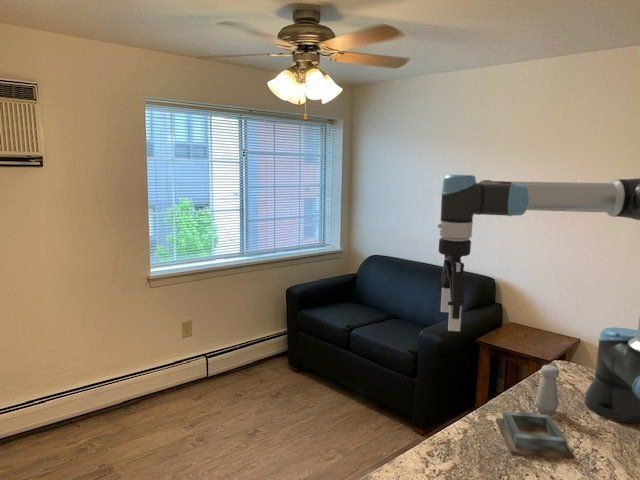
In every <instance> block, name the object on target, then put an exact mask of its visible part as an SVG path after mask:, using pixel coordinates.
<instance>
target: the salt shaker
mask: <svg viewBox="0 0 640 480" xmlns="http://www.w3.org/2000/svg"><path fill="white" fill-rule="evenodd" d="M540 373H541V375H542V378H541V382H540V384H539V388H538V390H537V394H536V396H535V399H534V403H535V406H536V410H537V411H538V412H539V413H540V414H545V415H550V416H552V415H553V414H554V413H555V412H556V411H557V410H558V407H559V405H560V404H559V397H558V386H557V378H558V377H559V374H560V371H559V369H558V368H557V367H556V366H554V365H551V364H544V365H542V367H541V370H540Z"/></svg>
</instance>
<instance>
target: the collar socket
mask: <svg viewBox="0 0 640 480" xmlns="http://www.w3.org/2000/svg"><path fill="white" fill-rule="evenodd" d="M495 422H496V424H497V426H498V429H499V432H500V433H501V435H502V438H503V439H504V442H505V444H506V446H507V448H508V450H509V453H510V454H511V455H519V456H520V455H521V456H529V457H530V456H531V457H545V458H556V459H567V460H568V459H570V460H574V459H575V458H574V457H575V455H574V453H572V451H571V449H570V448H569V446H568V440H567V439H566V437H565V436H564V434H563V432H561V430H560V428H559V427H558V425H557V424H556V423H555V421H554V420H553V418H552V416H551V415H546V414H543V413H532V412H531V413H527V412H516V411H514V412H513V411H503V413H502V418H501V417H500V418H497V417H496V418H495Z"/></svg>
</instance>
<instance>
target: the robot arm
mask: <svg viewBox="0 0 640 480" xmlns="http://www.w3.org/2000/svg"><path fill="white" fill-rule="evenodd" d="M442 181H443V183H442V190H441V201H440V202H441V204H440V206H441V207H440V224H439V223H438V224H437V228H439V236H440V239H439V240H438V253H439V254H441V255H443V256H444V260H443V265H442V266H443V267H442V272H441V279H440V282H441V286H442V287H441V296H440V297H441V300H440V312H441V313H448V323H447V325H448V326H447V330H448V332H461V323H462V312H463V311H462V310H463V308H462V307H463V306H464V305H465V292H464V291H465V289H464V287H465V285H464V277H465V276H464V272H465V271H464V270H465V264H464V262H462V257H467V256H469V255H470V254H471V248H472V247H471V246H472V241H471V238H472V236H473V235H472V234H473V224H474V223H473V217H474V215H477V216H478V215H487V216H505V217H506V216H507V217H512V216H514V217H515V216H517V217H518V216H522V215H524V214H525V213H526V212H527V211H538V212H539V211H541V212H542V211H543V212H544V211H546V212H547V211H548V212H572V213H573V212H576V213H582V212H583V213H607V215H608V216H609V217H614V218H616V217H617V218H618V217H619V218H626V219H631V220H635V221H640V178H639V177H638V178H630V179H629V178H627V179H626V178H623V179H621V178H619V179H612V180H611V181H609V182H570V181H569V182H567V181H566V182H563V181H558V182H555V181H516V180H515V181H513V180H510V181H507V180H501V181H500V180H498V181H497V180H496V181H495V180H490V179H485V180H480V181H478V182H477V180H476V176H475V175H473V174H447V175H446V176H444V178H443V180H442ZM597 347H598V349H597V358H596V365H595V373H594V377H593V380H592V381H591V383H590V385H589V387H588V388H587V390H586V392H585V393H584V403H585V405H586V407H587V408H588V409H589V410H591V411H592V412H594V413H595V414H597V415H599V416H601V417H604V419H605V418H606V419H609V420H612V421H615V422H620V423H624V424H638V423H637V422H640V316H639V318H638V326H637V329H634V328H627V327H626V328H625V327H605V328H603V329H602V330H601V331H600V336H599V338H598V346H597Z"/></svg>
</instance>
